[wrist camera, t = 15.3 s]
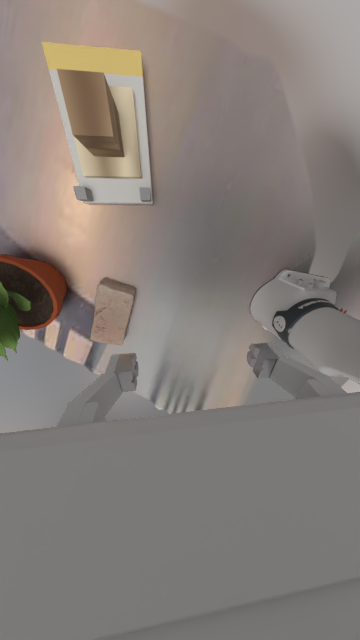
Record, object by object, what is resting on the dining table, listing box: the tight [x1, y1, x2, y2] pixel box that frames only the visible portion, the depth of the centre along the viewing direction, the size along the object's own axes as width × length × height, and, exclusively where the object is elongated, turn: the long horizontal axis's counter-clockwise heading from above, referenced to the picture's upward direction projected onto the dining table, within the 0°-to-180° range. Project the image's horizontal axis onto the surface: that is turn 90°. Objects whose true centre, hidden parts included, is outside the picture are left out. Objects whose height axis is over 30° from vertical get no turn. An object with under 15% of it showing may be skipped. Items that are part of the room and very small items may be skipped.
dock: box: [42, 42, 153, 205], centre depth 24 cm, size 12×16×6 cm
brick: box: [90, 278, 136, 345], centre depth 41 cm, size 17×8×5 cm, turn 160°
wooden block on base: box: [57, 69, 142, 179], centre depth 21 cm, size 9×9×8 cm
